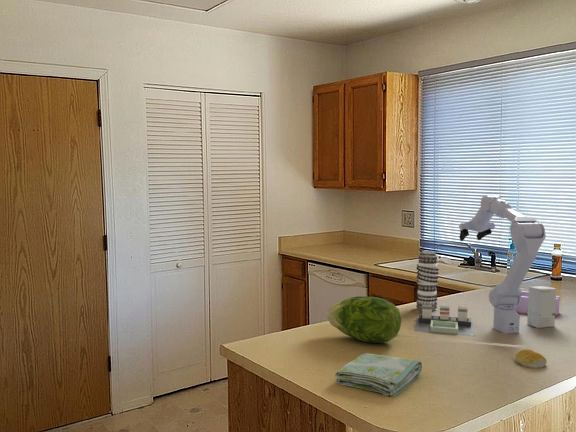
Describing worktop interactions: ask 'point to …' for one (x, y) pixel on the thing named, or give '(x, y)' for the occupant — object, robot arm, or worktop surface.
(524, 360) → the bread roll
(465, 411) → the worktop surface
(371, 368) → the towel
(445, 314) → the block
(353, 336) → the lettuce
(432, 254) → the striped tower model
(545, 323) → the skincare box
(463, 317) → the block
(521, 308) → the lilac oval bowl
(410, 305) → the worktop surface
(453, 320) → the panel
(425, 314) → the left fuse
